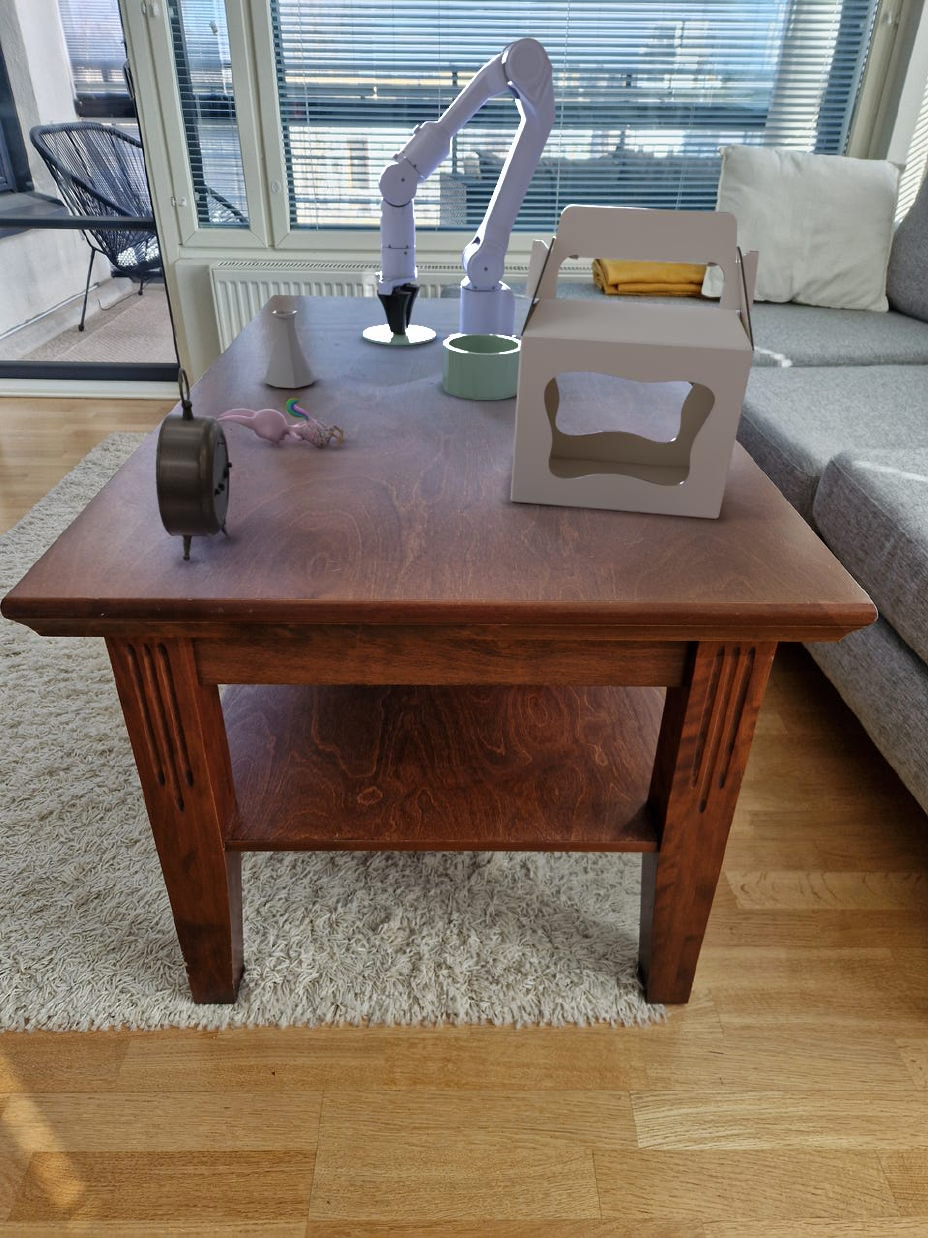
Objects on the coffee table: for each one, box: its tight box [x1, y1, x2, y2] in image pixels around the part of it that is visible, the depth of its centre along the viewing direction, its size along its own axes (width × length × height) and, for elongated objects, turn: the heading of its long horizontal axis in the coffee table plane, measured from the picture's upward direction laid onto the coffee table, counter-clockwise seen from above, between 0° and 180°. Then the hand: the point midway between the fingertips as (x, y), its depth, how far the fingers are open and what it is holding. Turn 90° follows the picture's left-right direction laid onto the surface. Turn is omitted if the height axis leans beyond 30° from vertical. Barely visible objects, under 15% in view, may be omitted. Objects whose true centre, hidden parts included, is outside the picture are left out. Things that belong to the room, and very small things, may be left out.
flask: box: [263, 308, 317, 389], centre depth 119 cm, size 7×7×10 cm
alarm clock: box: [155, 367, 233, 562], centre depth 74 cm, size 11×5×16 cm, turn 5°
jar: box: [442, 334, 520, 401], centre depth 120 cm, size 12×12×6 cm
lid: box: [362, 313, 436, 346], centre depth 143 cm, size 13×13×4 cm
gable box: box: [510, 204, 760, 520], centre depth 85 cm, size 22×13×28 cm, turn 82°
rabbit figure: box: [216, 397, 345, 449], centre depth 99 cm, size 6×6×15 cm
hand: (399, 330), depth 144 cm, fingers closed on lid, 2 cm apart
